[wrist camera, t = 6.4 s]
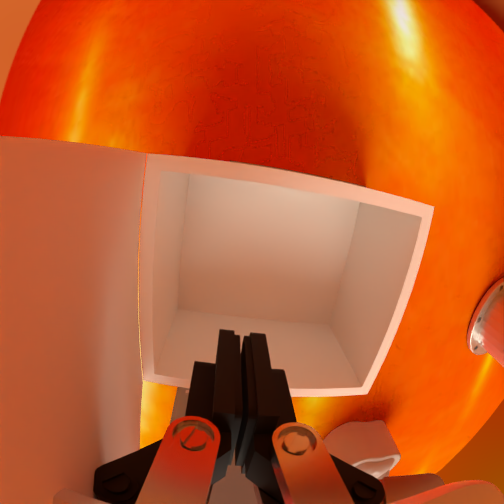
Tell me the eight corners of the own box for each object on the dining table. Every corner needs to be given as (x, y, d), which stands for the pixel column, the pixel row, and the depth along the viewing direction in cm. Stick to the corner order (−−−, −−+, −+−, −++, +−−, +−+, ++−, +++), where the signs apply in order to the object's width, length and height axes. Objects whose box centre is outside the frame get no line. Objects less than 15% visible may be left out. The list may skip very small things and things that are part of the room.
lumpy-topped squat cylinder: (392, 418, 34) (413, 458, 26) (354, 463, 37) (367, 499, 29) (336, 421, 33) (353, 469, 24) (301, 466, 36) (310, 507, 28)
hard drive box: (183, 348, 27) (145, 534, 8) (258, 343, 28) (284, 538, 9) (209, 435, 32) (204, 566, 13) (266, 432, 32) (284, 564, 13)
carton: (366, 188, 24) (434, 205, 14) (331, 327, 28) (367, 394, 18) (184, 157, 22) (147, 151, 13) (170, 310, 26) (143, 380, 17)
